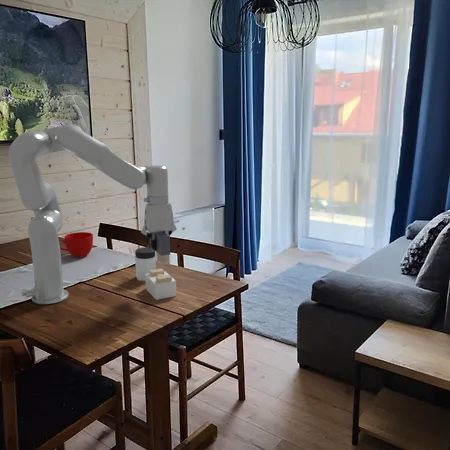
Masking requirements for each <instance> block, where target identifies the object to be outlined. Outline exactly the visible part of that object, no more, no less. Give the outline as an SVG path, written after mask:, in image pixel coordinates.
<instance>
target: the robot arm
mask: <svg viewBox="0 0 450 450" xmlns="http://www.w3.org/2000/svg"><path fill="white" fill-rule="evenodd" d="M62 151H67V152H69V153H70V154H72V155H73V156H75V157H78V158H79V159H81V160H82V161H84V162H86V163H87V164H89V165H91V166H93V167H94V168H96V170H98V171H100V172H102V173H103V174H105V175H106V176H107V177H109V178H111V179H112V180H114V181H116V182H118V183H119V184H120V185H123V186H124V187H126V188H128V189H131V190H139V189H140V188H142V187H143V186H145V185H146V192H147V193H146V197H144V198H143V202H144V203H146V204H145V208H144V209H145V210H144V220H143V221H144V222H143V223H144V225H143V227H142V229H141V230H140V233H141V234H143V235H144V236H146V237H148V239H149V240H150V239H151V247H150V248H152V249H153V250H155V252H156V250H157V246H156V240H155V233H156V232H165V233H166V234H168V235H169V236H170V237H171V235H172V234H173V233H174V232H175V231H177V229H178V228H177V226H176V225H175V223H174V219H175V218H174V212H173V207H172V203H171V202H170V201H169V180H168V178H169V177H168V175H169V174H168V168H167V167H166V166H165V165H148V166H147V165H141V164H140V165H139V164H138V165H137V164H134V165H133V164H131V163H129V162H127V161H126V160H124V159H123V158H121V157H120V156H118V155H117V153H114V151H113V150H111V148H110V147H109V146H108V145H107V144H105V143H103V142H102V141H100V140H98V139H96V138H95V137H93V136H92V135H90V134H88V133H87V132H85V131H83V128H81V127H80V126H79V125H77V124H74V123H65V124H62V125H61V126H56V127H51V128H45V129H40V130H39V129H38V130H29V131H25V132H23V133H22V134H20V135H18V136H17V137H16V138H15V139H14V140H13V142H11V145H10V146H9V150H8V161H9V165H10V167H11V168H10V169H11V172H12V174H13V177H14V180H15V181H14V182H15V184H16V187H17V192H18V194H19V198H20V200H21V203H22V205H23V206H24V207H25V209H27V210H28V211H32V212H33V214H34V216H33V217H32V218H31V220H30V221H29V223H28V226H27V235H28V238H29V239H28V240H29V244H30V249H31V259H32V269H33V276H34V277H33V278H34V279H33V280H34V286H33V288H30V289H29V290H27V289H26V290H25V289H24V290H22V291H21V296H22V297H25V296H26V297H25V298H31V301H32V302H33V303H34V304H37V305H52V304H56V303H57V304H58V303H61V302H63V301H65V300H67V298H69V291H68V290H67V289H64V280H63V268H62V267H63V266H62V256H61V255H62V254H61V249H60V247H61V246H60V241H59V240H60V239H59V234H58V233H59V231H60V230H61V229H62V228H63V225H64V218H63V214H62V211H61V207H60V203H59V201H58V197H57V194H56V192H55V189H54V187H53V186H52V185H51V183H49V182H47V181H44V179H43V176H42V174H41V170H40V167H39V165H38V163H37V157H39V156H43V155H46V154H53V153H57V152H62ZM149 232H150V233H149Z"/></svg>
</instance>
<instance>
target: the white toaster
mask: <svg viewBox="0 0 450 450" xmlns="http://www.w3.org/2000/svg"><path fill="white" fill-rule="evenodd" d="M145 280H146V281H145V290H147V292H148V293H149V294H150V295H151V296H152V297H153V299H155V301H156V300H157V301H158V300H162V299H169V298H172V297H177V280H176V279H175V278H174V277H173V276H171V275H170V274H169V273H168V272H167V271H166V270H165V269H163V268H156V269H155V270H149V274H145Z"/></svg>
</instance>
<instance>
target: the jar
mask: <svg viewBox="0 0 450 450" xmlns="http://www.w3.org/2000/svg"><path fill="white" fill-rule="evenodd" d="M134 256H135V275H136V276H135V277H136V280H137V281H141V282H146V280H145V274H149V270H155V269H157V257H156V251H155V250H153V249H152V248H151V247H150V246H149V247H140V248H137V249H135V251H134Z"/></svg>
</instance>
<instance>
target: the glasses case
mask: <svg viewBox="0 0 450 450" xmlns="http://www.w3.org/2000/svg"><path fill="white" fill-rule="evenodd" d="M148 233H150V232H148ZM155 240H156V246H157V250H156V251H155V253H158V255H160V256H161V257H163V256H169V255H171V235H170V236H169V235H168V234H166V233H165V232H156V233H155ZM149 248H151V239H150V238H149Z"/></svg>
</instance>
